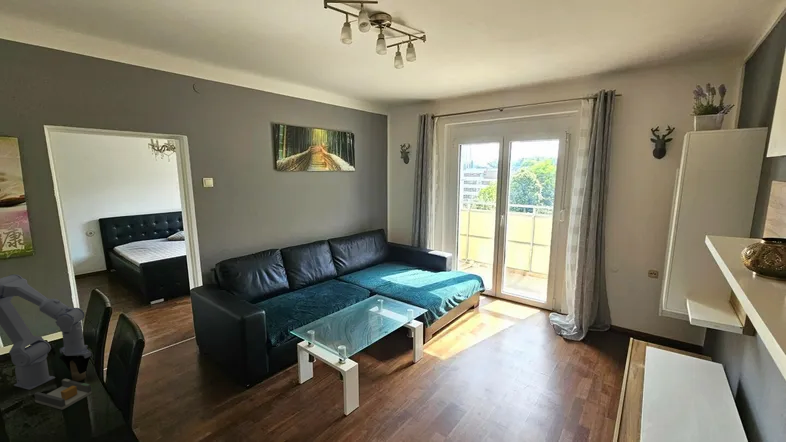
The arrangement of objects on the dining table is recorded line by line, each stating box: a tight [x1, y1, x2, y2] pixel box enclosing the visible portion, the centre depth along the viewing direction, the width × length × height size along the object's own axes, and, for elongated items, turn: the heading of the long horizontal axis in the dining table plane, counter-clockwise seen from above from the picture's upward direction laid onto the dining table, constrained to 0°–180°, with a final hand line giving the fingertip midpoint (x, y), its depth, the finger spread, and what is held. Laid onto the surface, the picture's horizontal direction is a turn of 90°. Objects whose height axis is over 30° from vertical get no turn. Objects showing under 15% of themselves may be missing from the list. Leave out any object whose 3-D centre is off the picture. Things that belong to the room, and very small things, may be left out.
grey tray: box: [33, 378, 93, 410], centre depth 121 cm, size 14×9×4 cm, turn 75°
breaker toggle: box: [61, 386, 77, 400], centre depth 120 cm, size 2×4×3 cm, turn 165°
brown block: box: [70, 361, 87, 382], centre depth 132 cm, size 4×4×8 cm
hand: (78, 371), depth 132 cm, fingers open, 5 cm apart
